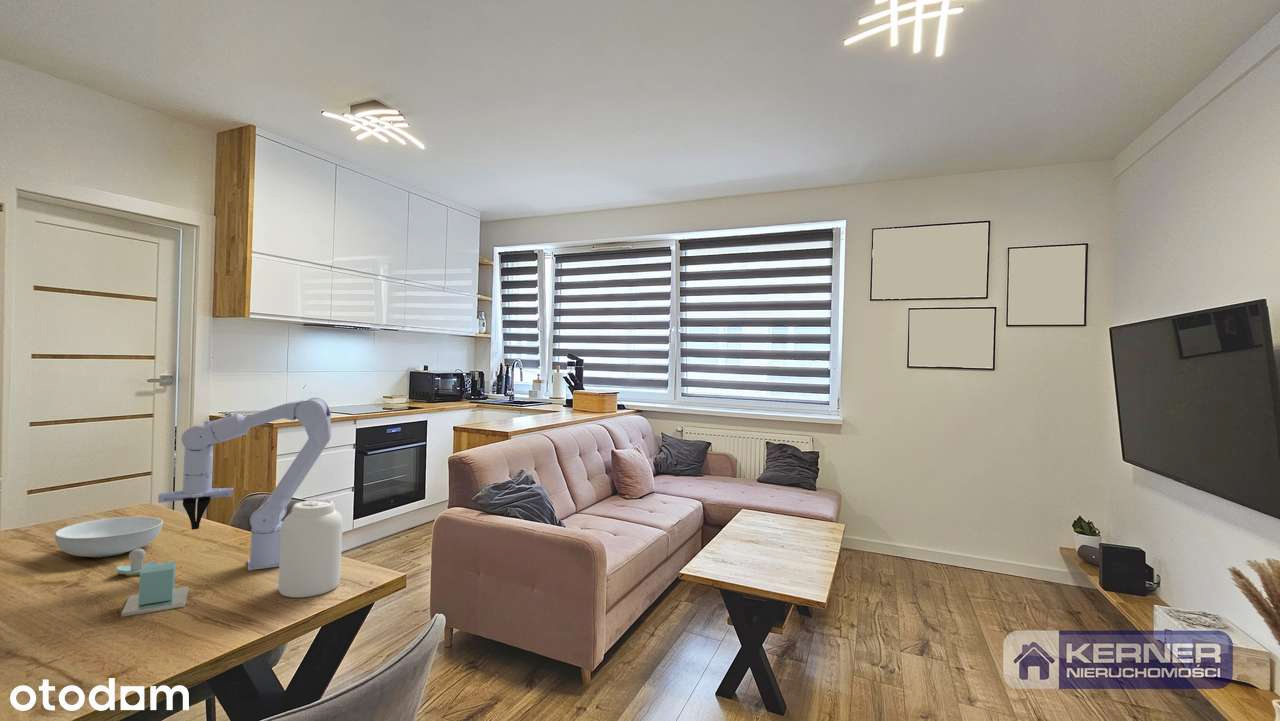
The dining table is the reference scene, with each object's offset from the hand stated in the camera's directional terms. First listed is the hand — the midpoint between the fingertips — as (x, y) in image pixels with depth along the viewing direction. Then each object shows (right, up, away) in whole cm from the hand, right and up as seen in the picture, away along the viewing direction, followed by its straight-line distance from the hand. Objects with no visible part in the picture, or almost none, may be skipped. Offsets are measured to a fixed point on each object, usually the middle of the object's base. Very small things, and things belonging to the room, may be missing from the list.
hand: (195, 528), depth 140 cm
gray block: (+7, -10, -19) cm, 23 cm away
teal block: (+7, -9, -19) cm, 22 cm away
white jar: (+33, -12, -8) cm, 36 cm away
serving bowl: (-30, -9, +9) cm, 33 cm away
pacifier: (-12, -10, -3) cm, 16 cm away
